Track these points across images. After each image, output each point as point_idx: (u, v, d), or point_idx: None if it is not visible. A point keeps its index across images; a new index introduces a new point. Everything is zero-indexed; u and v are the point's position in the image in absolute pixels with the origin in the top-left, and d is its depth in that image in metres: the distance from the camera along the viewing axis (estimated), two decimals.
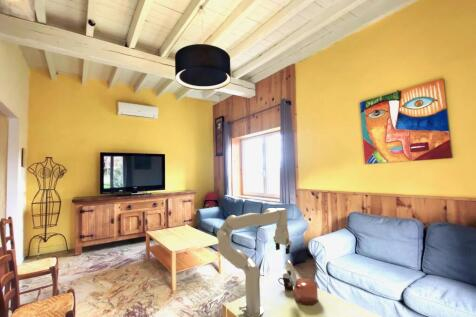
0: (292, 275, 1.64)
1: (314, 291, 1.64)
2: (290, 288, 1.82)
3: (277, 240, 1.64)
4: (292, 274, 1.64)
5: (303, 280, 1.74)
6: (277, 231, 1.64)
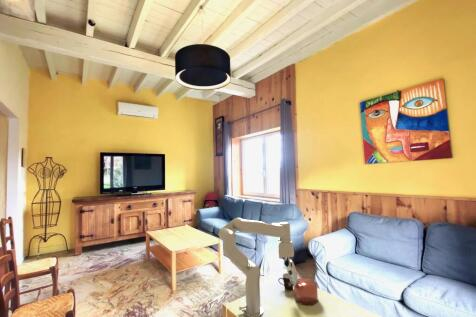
0: (293, 275, 1.64)
1: (314, 291, 1.64)
2: (290, 288, 1.82)
3: (285, 254, 1.66)
4: (293, 274, 1.64)
5: (303, 280, 1.74)
6: (284, 245, 1.67)
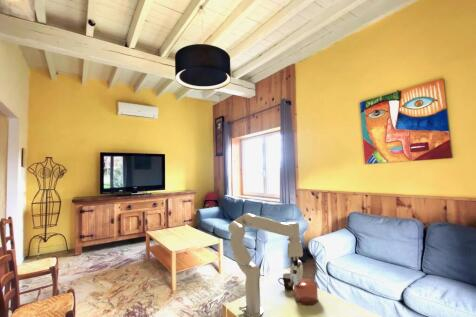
0: (298, 274, 1.65)
1: (314, 291, 1.64)
2: (290, 288, 1.82)
3: (294, 254, 1.67)
4: (298, 273, 1.65)
5: (303, 280, 1.74)
6: (293, 245, 1.68)
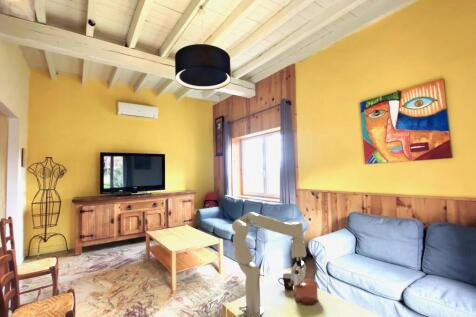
0: (300, 274, 1.65)
1: (314, 291, 1.64)
2: (290, 288, 1.82)
3: (297, 254, 1.68)
4: (301, 273, 1.65)
5: (303, 280, 1.74)
6: (297, 245, 1.68)
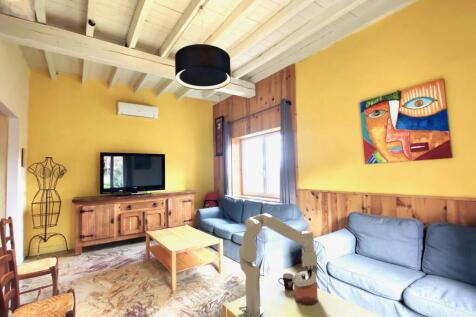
0: (307, 280, 1.66)
1: (314, 291, 1.64)
2: (290, 288, 1.82)
3: (308, 263, 1.69)
4: (308, 280, 1.66)
5: None
6: (308, 254, 1.69)
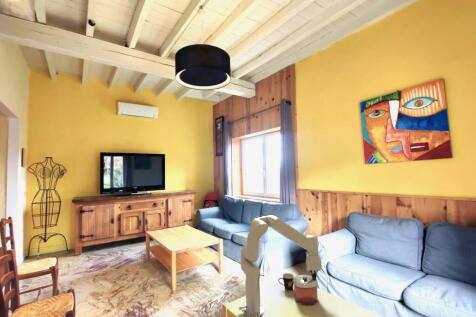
0: (308, 283, 1.66)
1: (314, 291, 1.64)
2: (290, 288, 1.82)
3: (313, 267, 1.69)
4: (309, 283, 1.66)
5: None
6: (312, 259, 1.69)
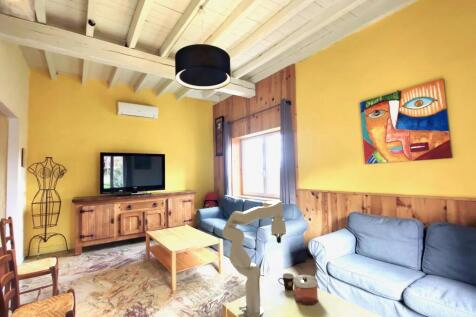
0: (308, 283, 1.66)
1: (314, 291, 1.64)
2: (290, 288, 1.82)
3: (277, 231, 1.73)
4: (309, 283, 1.66)
5: None
6: (277, 223, 1.74)
